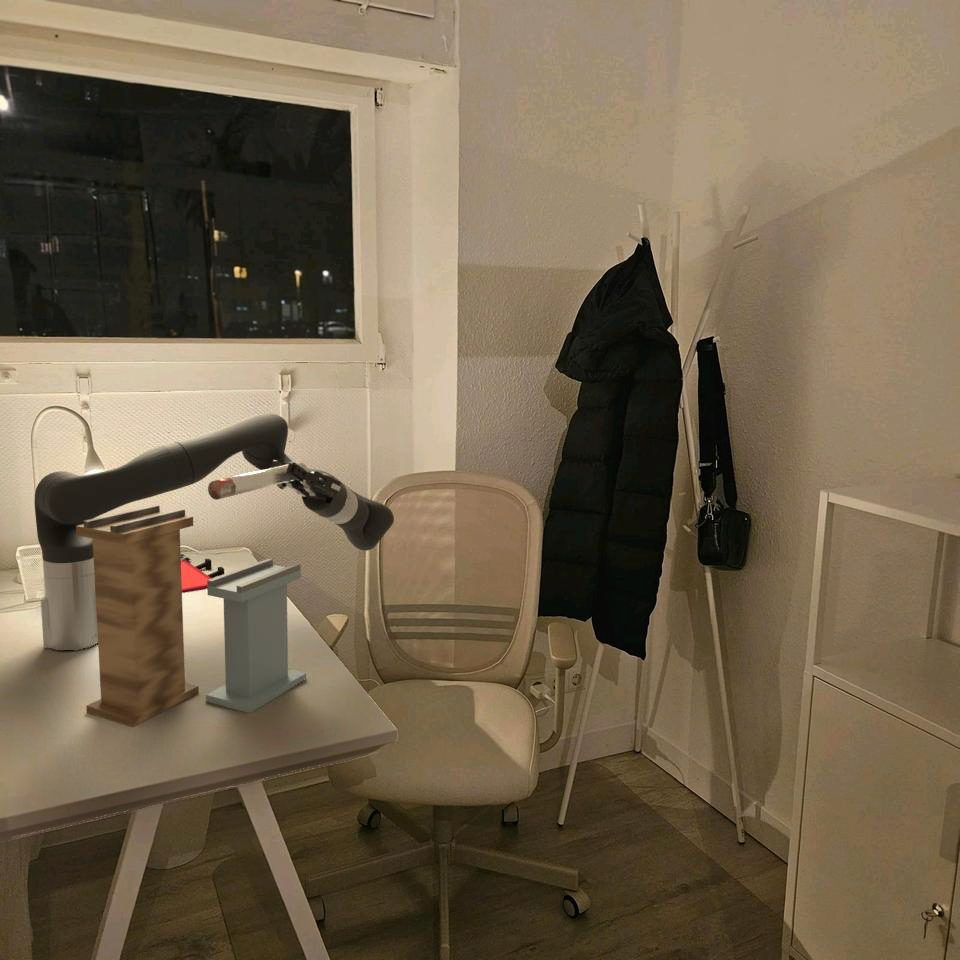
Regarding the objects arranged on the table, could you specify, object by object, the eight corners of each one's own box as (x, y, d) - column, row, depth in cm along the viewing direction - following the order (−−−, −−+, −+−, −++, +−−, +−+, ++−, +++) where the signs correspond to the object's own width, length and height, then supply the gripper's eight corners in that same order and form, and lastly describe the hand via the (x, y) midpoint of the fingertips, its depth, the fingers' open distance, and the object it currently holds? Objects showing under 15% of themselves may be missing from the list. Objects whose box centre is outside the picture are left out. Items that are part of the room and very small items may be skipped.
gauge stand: (132, 726, 127) (123, 527, 122) (86, 712, 132) (75, 519, 126) (198, 692, 140) (192, 510, 134) (154, 680, 144) (147, 503, 139)
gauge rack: (249, 713, 133) (246, 587, 129) (206, 701, 137) (202, 579, 133) (306, 679, 146) (305, 565, 143) (265, 669, 150) (263, 557, 146)
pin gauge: (223, 500, 129) (222, 482, 129) (208, 498, 130) (207, 479, 130) (307, 479, 149) (307, 462, 148) (293, 477, 150) (293, 461, 150)
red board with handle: (189, 556, 223) (132, 565, 213) (189, 546, 222) (131, 555, 213) (234, 585, 200) (172, 598, 191) (234, 574, 199) (171, 586, 190)
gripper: (306, 477, 163) (255, 443, 148) (367, 485, 157) (321, 449, 142) (295, 513, 161) (242, 482, 146) (356, 522, 155) (308, 490, 140)
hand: (281, 466), depth 144 cm, fingers closed on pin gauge, 3 cm apart
